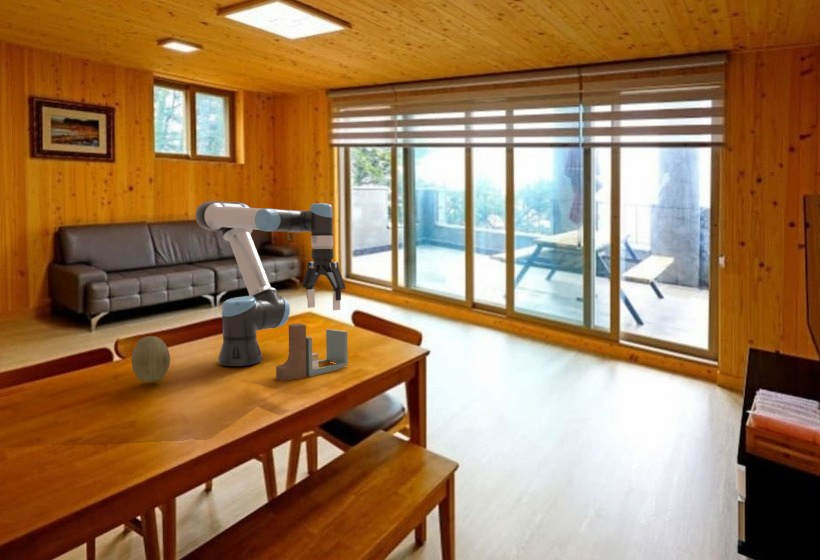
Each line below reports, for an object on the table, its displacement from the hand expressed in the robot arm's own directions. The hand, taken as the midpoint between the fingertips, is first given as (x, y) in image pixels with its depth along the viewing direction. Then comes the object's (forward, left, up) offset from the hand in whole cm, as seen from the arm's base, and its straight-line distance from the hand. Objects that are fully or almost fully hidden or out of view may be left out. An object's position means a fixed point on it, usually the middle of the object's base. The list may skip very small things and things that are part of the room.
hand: (323, 308), depth 193 cm
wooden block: (+1, -15, -22) cm, 27 cm away
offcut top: (0, -7, -17) cm, 18 cm away
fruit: (-30, -47, -22) cm, 60 cm away
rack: (0, -2, -21) cm, 21 cm away
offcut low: (0, -7, -22) cm, 23 cm away
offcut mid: (0, -7, -19) cm, 21 cm away
